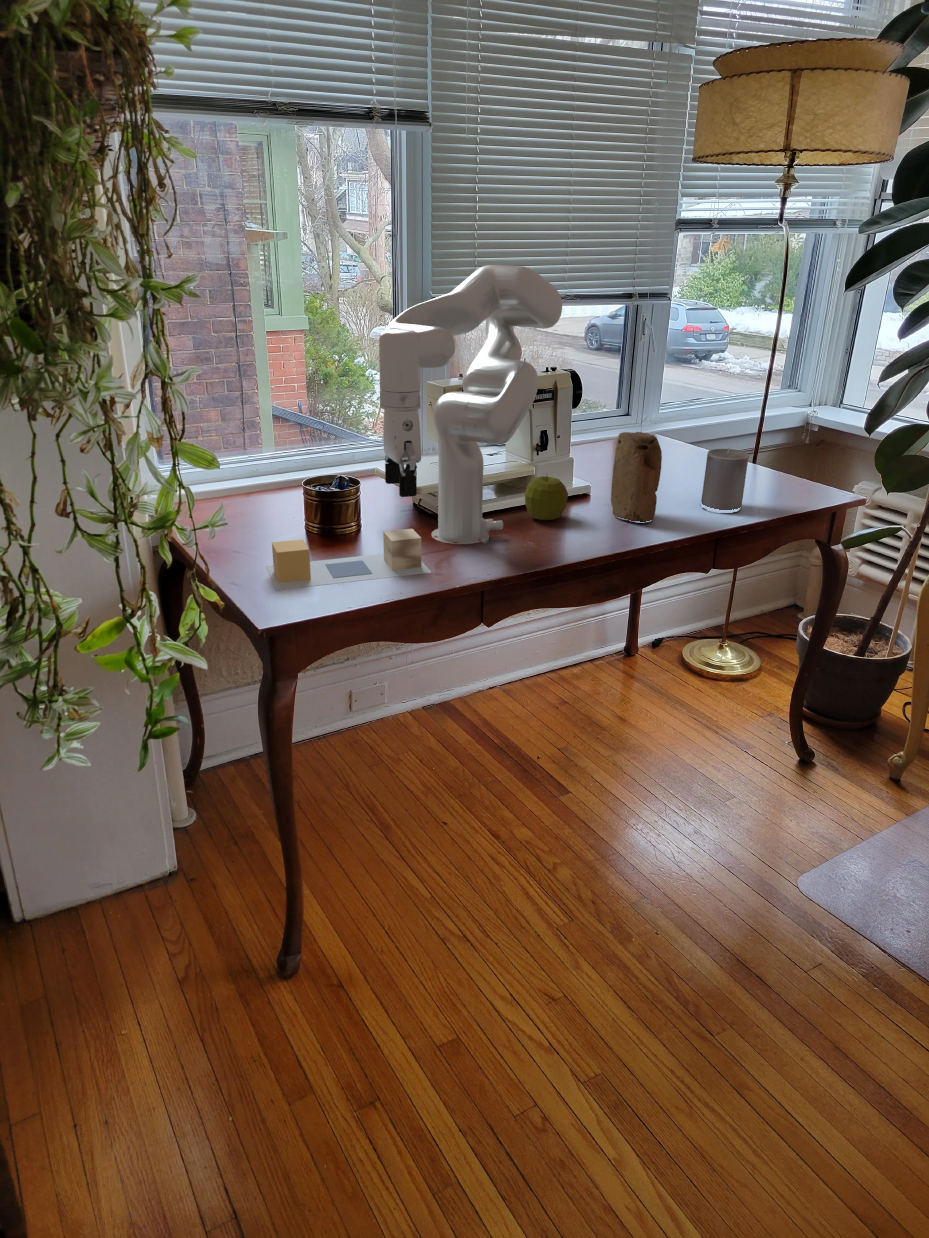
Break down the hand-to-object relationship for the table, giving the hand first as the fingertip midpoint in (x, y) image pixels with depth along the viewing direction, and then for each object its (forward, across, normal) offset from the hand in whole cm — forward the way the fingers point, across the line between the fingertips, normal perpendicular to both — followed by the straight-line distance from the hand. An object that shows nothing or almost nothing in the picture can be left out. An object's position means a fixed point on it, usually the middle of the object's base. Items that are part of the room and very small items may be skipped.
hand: (400, 489), depth 177 cm
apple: (+16, +22, -42) cm, 50 cm away
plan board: (+16, 0, +10) cm, 20 cm away
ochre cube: (+16, 0, +22) cm, 27 cm away
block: (+16, +16, -62) cm, 65 cm away
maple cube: (+15, 0, 0) cm, 15 cm away
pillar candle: (+16, +17, -86) cm, 90 cm away
